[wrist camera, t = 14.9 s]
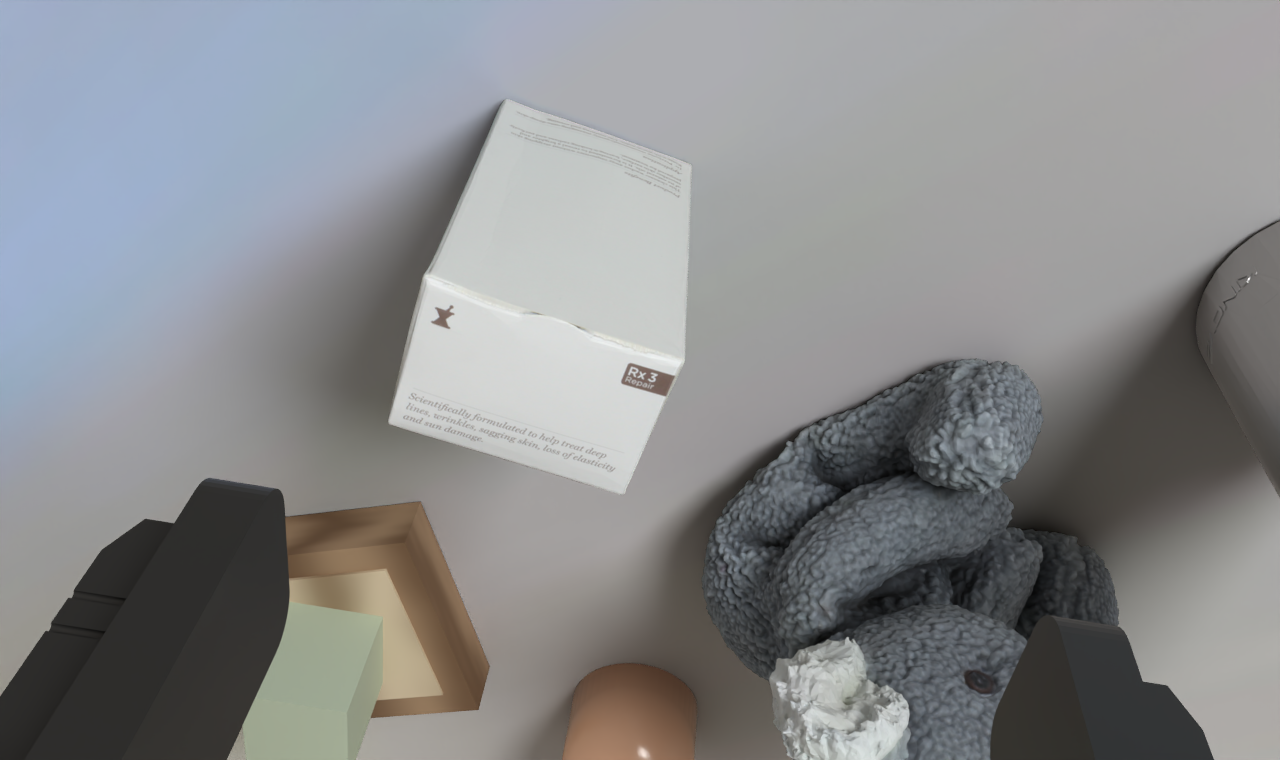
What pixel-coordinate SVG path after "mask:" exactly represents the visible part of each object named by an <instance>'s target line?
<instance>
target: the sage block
mask: <svg viewBox="0 0 1280 760" xmlns="http://www.w3.org/2000/svg"><path fill="white" fill-rule="evenodd" d="M382 684H383V617H382V616H376V615H369V614H363V613H357V612H351V611H345V610H338V609H332V608H326V607H320V606H314V605H307V604H301V603H295V602H289V608H288V615H287V620H286V624H285V628H284V632H283V635H282V639H281V642H280V644H279V647H278V649H277V652H276V654H275V656H274V658H273V661H272V663H271V665H270V667H269V669H268V671H267V674H266V676H265V678H264V680H263V682H262V684H261V687H260V689H259V691H258V693H257V695H256V697H255V699H254V702H253V704H252V706H251V708H250V710H249V712H248V715H247V717H246V719H245V721H244V723H243V725H242V726H243V735H244V745H245V754H246V760H356V757H357V754H358V752H359V749H360V746H361V743H362V740H363V737H364V735H365V732H366V729H367V726H368V723H369V720H370V718H371V715H372V712H373V709H374V706H375V703H376V701H377V698H378V695H379V692H380V689H381V686H382Z"/></svg>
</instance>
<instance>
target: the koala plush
mask: <svg viewBox="0 0 1280 760" xmlns="http://www.w3.org/2000/svg"><path fill="white" fill-rule="evenodd" d="M1035 388H1036V387H1035V385H1034V384H1033V382H1032V381H1030V378H1029V377H1028V376H1027V374H1026V373H1024V370H1023V369H1021V370H1020V369H1019V366H1017V365H1011V364H1009V363H1008V362H1007V361H1006V362H1004V363H1003V364H1001V363H1000V362H999V361H996V362H994V363H992V364H988V361H986V360H979V359H977V358H976V359H975V360H974V359H970V360H964V359H963V360H960V361H958V360H956V361H955V362H948V363H946V364H941V365H939V366H937V367H935V368H933V369H932V371H927V370H926V371H925V372H924V374H917V375H916V376H914V377H912V379H909V380H908V382H906V383H903V384H901V385H899V387H895V388H893V389H892V390H891V389H887V390H885V391H884V392H883V394H882V395H878V396H875V397H874V398H873V399H872V400H869V401H868V402H867V405H866V404H864V405H862V406H859V407H858V408H856V409H853V410H848V411H846V412H844V413H842V414H836V415H835V416H830V417H828V418H827V419H826V420H820V421H819V423H813V425H812V426H810V427H809V428H807V427H806V428H805V429H804V430H803V431H801V432H800V433H799V436H798V437H796V438H795V441H794V442H791V441H788V442H787V443H786V445H787V447H786V448H785V449H784V451H783V452H782V453H781V454H780V455H779V457H778V458H777V459H776V460H774V461H772V462H770V463H769V464H768V466H766V467H764V468H762V469H758V470H757V472H756V475H755V476H754V479H753V482H752V481H747V482H746V484H745V486H744V488H742V489H741V490H740V491H739V493H738V494H736V495H735V496H734V498H733V499H731V500H730V501H728V503H727V506H726V507H725V508H724V509H723V511H722V514H723V516H720V517H719V519H717V521H716V525H715V529H713V530H712V533H711V535H710V538H709V543H708V544H707V549H706V558H705V560H704V563H705V565H706V566H705V567H704V570H703V572H704V575H703V576H702V586H703V587H702V588H703V590H704V598H705V600H706V603H707V606H706V609H707V610H708V614H709V615H710V616H711V619H712V622H713V623H714V624H715V625H716V626H717V627H718V628H719V630H720V633H721V635H722V637H723V639H724V641H725V643H726V644H727V647H729V648H730V649H732V650H733V651H734V652H735V654H736V655H737V656H738V657H739V659H740V660H741V661H742V662H743V663H744V665H745V666H746V667H747V668H748V669H751V670H752V671H753V672H754V673H756V674H757V675H758V676H759V677H762V678H764V679H766V680H768V681H769V683H770V686H771V690H772V696H773V702H772V706H773V710H774V715H775V720H774V721H773V723H774V724H775V726H776V728H777V729H778V730H779V731H780V732H781V735H782V739H783V741H784V742H783V744H784V745H785V747H786V748H787V750H786V751H787V754H786V755H787V756H789V757H790V758H792V759H793V760H991V759H990V740H991V730H992V724H993V720H994V715H995V712H996V709H997V707H998V704H999V702H1000V700H1001V698H1002V696H1003V693H1004V691H1005V689H1006V687H1007V685H1008V683H1009V681H1010V679H1011V676H1012V674H1013V672H1014V670H1015V668H1016V666H1017V664H1018V661H1019V659H1020V657H1021V655H1022V653H1023V651H1024V649H1025V647H1026V644H1027V642H1028V640H1029V638H1030V636H1031V634H1032V632H1033V629H1034V627H1035V626H1036V624H1037V622H1038V621H1039V620H1040V619H1041V618H1042V617H1043V616H1045V615H1051V616H1057V617H1063V618H1070V619H1076V620H1082V621H1088V622H1095V623H1101V624H1107V625H1113V626H1118V624H1119V621H1118V616H1119V609H1118V608H1117V600H1116V597H1115V590H1114V586H1113V583H1112V578H1111V575H1110V573H1109V571H1108V569H1106V568H1105V566H1104V561H1103V560H1102V559H1101V558H1100V557H1099V556H1098V555H1097V554H1096V553H1095V550H1093V549H1090V547H1089V546H1085V547H1080V546H1079V545H1078V544H1077V540H1078V539H1077V537H1074V536H1068V535H1064V534H1061V533H1055V532H1052V533H1049V532H1047V531H1045V532H1041V531H1034V530H1033V529H1030V530H1021V529H1020V528H1015V527H1010V528H1009V527H1007V526H1008V524H1009V521H1011V520H1012V516H1011V511H1012V510H1013V509H1014V506H1013V503H1012V502H1010V501H1009V499H1008V497H1007V495H1006V494H1005V493H1004V492H1003V491H1002V489H1001V488H1000V486H1002V484H1003V483H1005V482H1008V481H1011V480H1015V479H1016V475H1017V473H1018V472H1019V471H1020V470H1022V468H1023V466H1024V464H1025V463H1026V462H1027V461H1028V459H1029V457H1030V455H1031V451H1032V449H1033V447H1034V444H1035V442H1036V435H1038V433H1040V432H1041V431H1040V427H1041V424H1042V423H1043V415H1042V412H1041V411H1042V407H1041V404H1040V403H1041V397H1040V396H1039V394H1037V393H1038V390H1037V389H1035Z"/></svg>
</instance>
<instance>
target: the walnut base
mask: <svg viewBox="0 0 1280 760" xmlns="http://www.w3.org/2000/svg"><path fill="white" fill-rule="evenodd" d="M285 523H286V539H287V555H288V570H289V586H290V598H289V602H295V603H301V604H307V605H314V606H320V607H326V608H332V609H338V610H345V611H351V612H357V613H363V614H369V615H376V616H382V617H383V684H382V686H381V689H380V692H379V695H378V698H377V701H376V703H375V706H374V709H373V712H372V715H371V718H376V717H390V716H403V715H416V714H429V713H442V712H456V711H469V710H478V709H479V706H480V702H481V698H482V694H483V690H484V686H485V682H486V679H487V675H488V671H489V667H490V666H489V664H488V661H487V659H486V657H485V654H484V652H483V649H482V647H481V645H480V642H479V640H478V637H477V635H476V633H475V630H474V628H473V626H472V623H471V621H470V618H469V616H468V614H467V611H466V609H465V606H464V604H463V602H462V599H461V597H460V595H459V592H458V590H457V587H456V585H455V583H454V580H453V578H452V575H451V573H450V571H449V568H448V566H447V564H446V561H445V559H444V556H443V554H442V552H441V549H440V547H439V544H438V542H437V540H436V537H435V535H434V533H433V530H432V528H431V525H430V523H429V521H428V518H427V516H426V513H425V511H424V509H423V506H422V504H421V502H413V503H404V504H395V505H387V506H378V507H369V508H361V509H352V510H343V511H334V512H326V513H317V514H308V515H300V516H291V517H285Z"/></svg>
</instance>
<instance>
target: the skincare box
mask: <svg viewBox="0 0 1280 760" xmlns="http://www.w3.org/2000/svg"><path fill="white" fill-rule="evenodd" d="M691 180H692V165H691V164H689V163H686V162H684V161H681V160H678V159H676V158H673V157H670V156H667V155H665V154H662V153H659V152H656V151H653V150H651V149H648V148H645V147H642V146H640V145H637V144H634V143H631V142H628V141H626V140H623V139H620V138H617V137H614V136H612V135H609V134H606V133H603V132H600V131H597V130H595V129H592V128H589V127H586V126H583V125H580V124H578V123H575V122H572V121H569V120H566V119H563V118H560V117H557V116H554V115H550V114H547V113H544V112H540V111H537V110H535V109H532V108H529V107H527V106H524V105H522V104H519V103H517V102H514V101H512V100H509V99H505V100H504V101H503V102H502V104H501V105H500V108H499V110H498V112H497V114H496V117H495V119H494V122H493V124H492V126H491V129H490V131H489V133H488V136H487V138H486V140H485V143H484V145H483V147H482V149H481V152H480V154H479V156H478V159H477V161H476V163H475V165H474V168H473V170H472V172H471V174H470V177H469V179H468V181H467V183H466V186H465V188H464V190H463V192H462V195H461V197H460V199H459V201H458V204H457V206H456V208H455V210H454V213H453V215H452V217H451V219H450V222H449V224H448V226H447V228H446V231H445V233H444V235H443V237H442V240H441V242H440V244H439V246H438V249H437V251H436V253H435V255H434V257H433V260H432V262H431V264H430V266H429V267H428V269H427V270H426V272H425V273H424V275H423V277H422V281H421V285H420V290H419V294H418V297H417V301H416V304H415V308H414V311H413V315H412V319H411V323H410V327H409V331H408V335H407V340H406V344H405V348H404V352H403V357H402V361H401V365H400V370H399V374H398V378H397V382H396V387H395V391H394V395H393V400H392V404H391V409H390V414H389V418H388V423H389V424H390V425H393V426H396V427H399V428H402V429H405V430H408V431H412V432H415V433H418V434H422V435H425V436H429V437H432V438H435V439H439V440H442V441H446V442H449V443H452V444H456V445H459V446H462V447H465V448H469V449H472V450H475V451H479V452H482V453H486V454H489V455H492V456H495V457H498V458H502V459H505V460H508V461H511V462H515V463H518V464H521V465H525V466H528V467H531V468H534V469H538V470H541V471H544V472H548V473H551V474H554V475H558V476H561V477H564V478H568V479H571V480H574V481H577V482H581V483H584V484H587V485H590V486H593V487H597V488H600V489H603V490H606V491H609V492H613V493H616V494H620V495H623V494H624V493H625V491H626V488H627V486H628V484H629V482H630V480H631V477H632V475H633V473H634V470H635V468H636V466H637V464H638V461H639V459H640V457H641V455H642V452H643V450H644V448H645V446H646V444H647V442H648V439H649V437H650V435H651V433H652V431H653V429H654V426H655V424H656V422H657V420H658V418H659V415H660V413H661V411H662V409H663V407H664V405H665V403H666V400H667V398H668V396H669V394H670V392H671V390H672V388H673V385H674V383H675V381H676V379H677V377H678V375H679V372H680V370H681V368H682V366H683V364H684V361H685V337H686V310H687V283H688V261H689V232H690V203H691Z"/></svg>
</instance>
